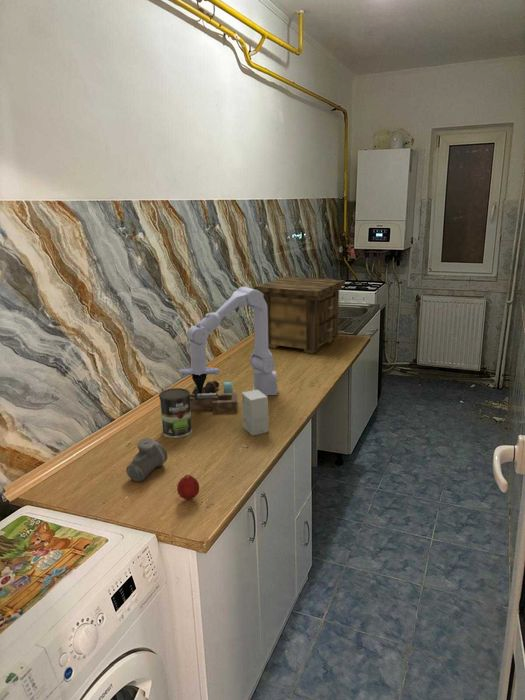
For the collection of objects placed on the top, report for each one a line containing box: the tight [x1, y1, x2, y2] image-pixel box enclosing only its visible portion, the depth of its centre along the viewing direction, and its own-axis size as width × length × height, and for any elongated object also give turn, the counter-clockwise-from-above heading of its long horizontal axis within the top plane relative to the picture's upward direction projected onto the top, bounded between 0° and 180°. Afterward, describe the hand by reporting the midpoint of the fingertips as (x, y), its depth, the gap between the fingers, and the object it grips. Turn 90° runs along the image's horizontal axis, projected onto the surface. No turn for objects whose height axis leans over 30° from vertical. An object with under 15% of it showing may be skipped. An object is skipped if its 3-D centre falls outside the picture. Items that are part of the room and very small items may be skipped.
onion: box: [176, 473, 200, 502], centre depth 136 cm, size 6×6×8 cm
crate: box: [253, 275, 346, 354], centre depth 269 cm, size 35×35×33 cm
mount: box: [190, 392, 238, 414], centre depth 195 cm, size 18×9×5 cm, turn 92°
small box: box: [241, 389, 270, 437], centre depth 175 cm, size 8×6×13 cm
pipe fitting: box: [125, 437, 168, 483], centre depth 150 cm, size 12×8×10 cm
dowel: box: [222, 381, 234, 393], centre depth 204 cm, size 4×4×6 cm
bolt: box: [191, 380, 220, 398], centre depth 208 cm, size 6×5×15 cm
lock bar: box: [193, 385, 217, 400], centre depth 193 cm, size 8×3×4 cm, turn 92°
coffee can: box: [158, 387, 193, 439], centre depth 175 cm, size 10×10×14 cm
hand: (200, 392), depth 193 cm, fingers closed
